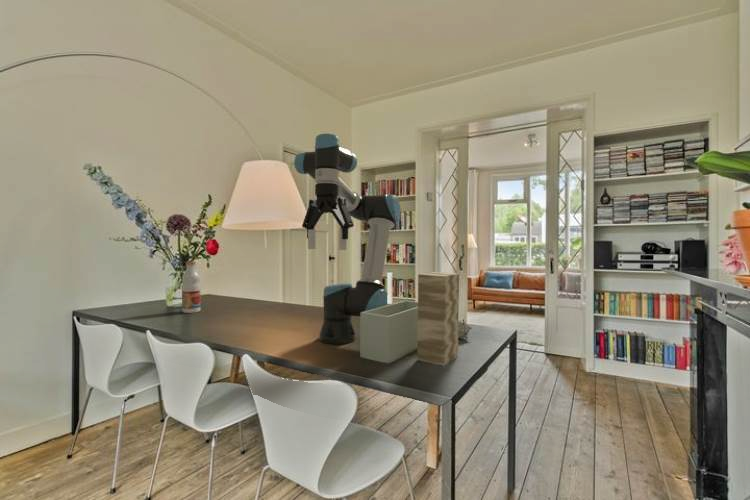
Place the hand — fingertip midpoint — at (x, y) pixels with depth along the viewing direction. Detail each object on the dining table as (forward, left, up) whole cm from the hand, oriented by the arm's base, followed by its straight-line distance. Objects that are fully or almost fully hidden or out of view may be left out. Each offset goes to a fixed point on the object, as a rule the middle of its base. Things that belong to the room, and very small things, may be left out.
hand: (326, 249), depth 118 cm
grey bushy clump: (-10, +62, -39) cm, 74 cm away
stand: (+7, +39, -39) cm, 55 cm away
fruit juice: (-116, -44, -39) cm, 130 cm away
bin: (-8, +31, -39) cm, 50 cm away
